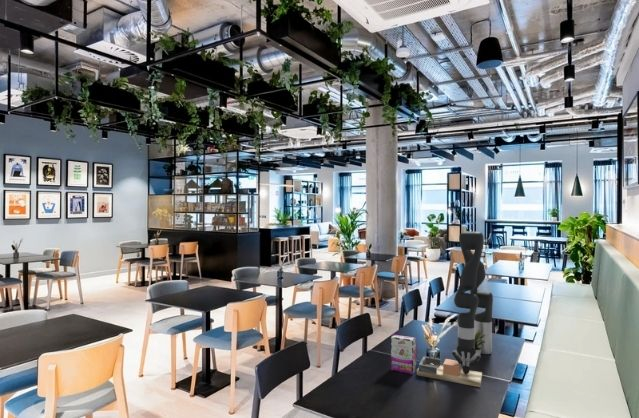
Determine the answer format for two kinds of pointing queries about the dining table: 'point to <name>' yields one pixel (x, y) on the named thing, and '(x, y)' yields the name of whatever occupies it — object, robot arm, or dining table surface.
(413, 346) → the candy bar box
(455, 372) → the carton
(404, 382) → the dining table surface
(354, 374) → the dining table surface
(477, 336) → the house plant
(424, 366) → the board
